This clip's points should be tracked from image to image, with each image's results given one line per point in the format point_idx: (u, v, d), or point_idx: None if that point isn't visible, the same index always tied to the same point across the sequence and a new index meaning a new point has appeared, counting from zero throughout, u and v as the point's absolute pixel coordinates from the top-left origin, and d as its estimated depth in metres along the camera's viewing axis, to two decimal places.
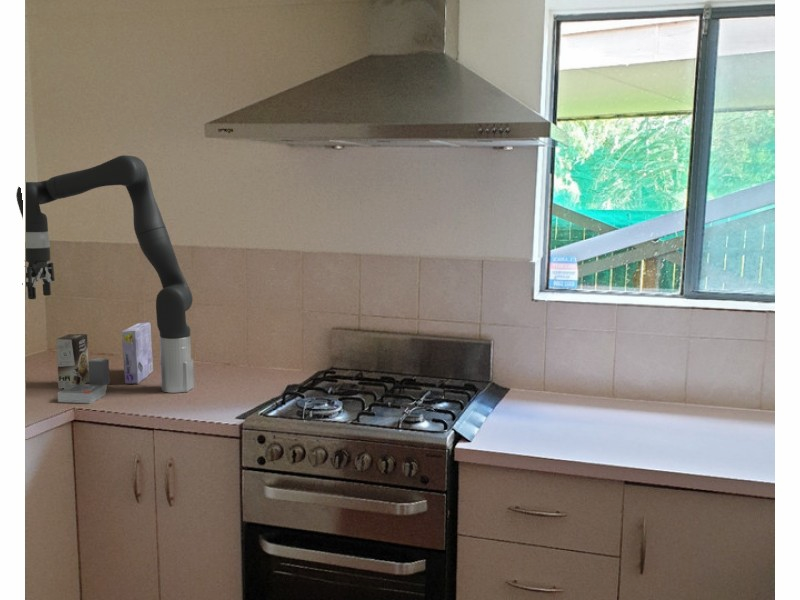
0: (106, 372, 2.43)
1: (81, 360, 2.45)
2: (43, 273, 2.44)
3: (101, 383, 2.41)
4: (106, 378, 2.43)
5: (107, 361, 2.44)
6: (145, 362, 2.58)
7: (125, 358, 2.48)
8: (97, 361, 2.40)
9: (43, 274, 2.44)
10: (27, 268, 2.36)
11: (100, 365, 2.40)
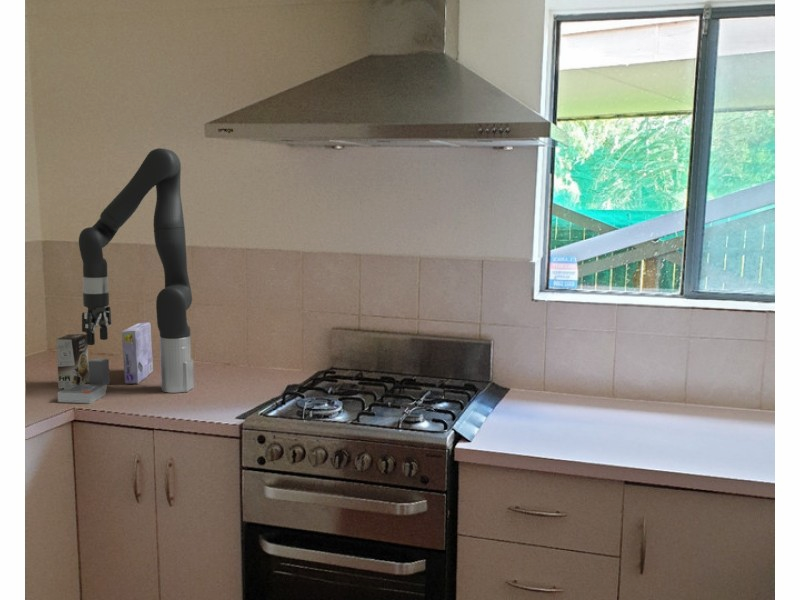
0: (106, 372, 2.43)
1: (81, 360, 2.45)
2: (101, 318, 2.41)
3: (101, 383, 2.41)
4: (106, 378, 2.43)
5: (107, 361, 2.44)
6: (146, 362, 2.58)
7: (125, 358, 2.48)
8: (97, 361, 2.40)
9: (101, 319, 2.41)
10: (87, 314, 2.33)
11: (100, 365, 2.40)
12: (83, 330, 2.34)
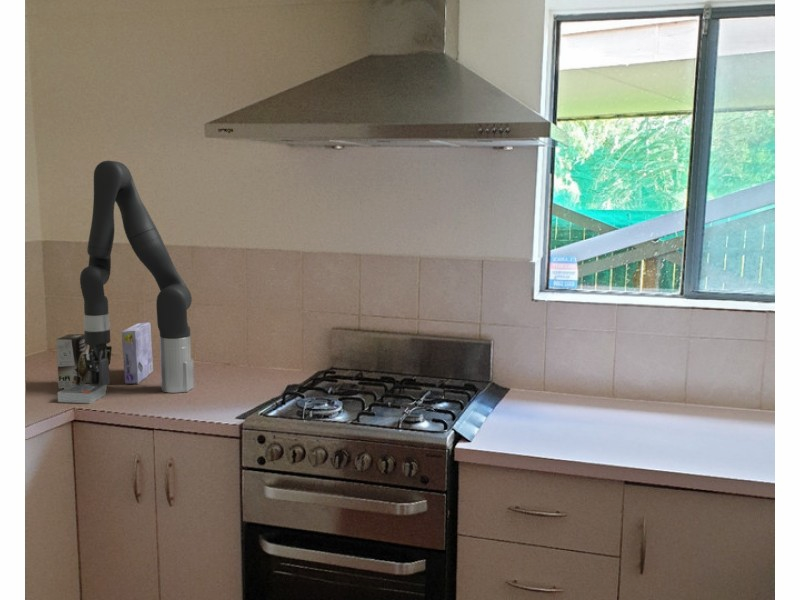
0: (106, 372, 2.43)
1: (81, 360, 2.45)
2: (102, 354, 2.42)
3: (101, 383, 2.41)
4: (106, 378, 2.43)
5: (107, 361, 2.44)
6: (145, 362, 2.58)
7: (125, 358, 2.48)
8: (97, 361, 2.40)
9: (102, 355, 2.42)
10: (89, 356, 2.35)
11: (100, 365, 2.40)
12: (88, 369, 2.37)
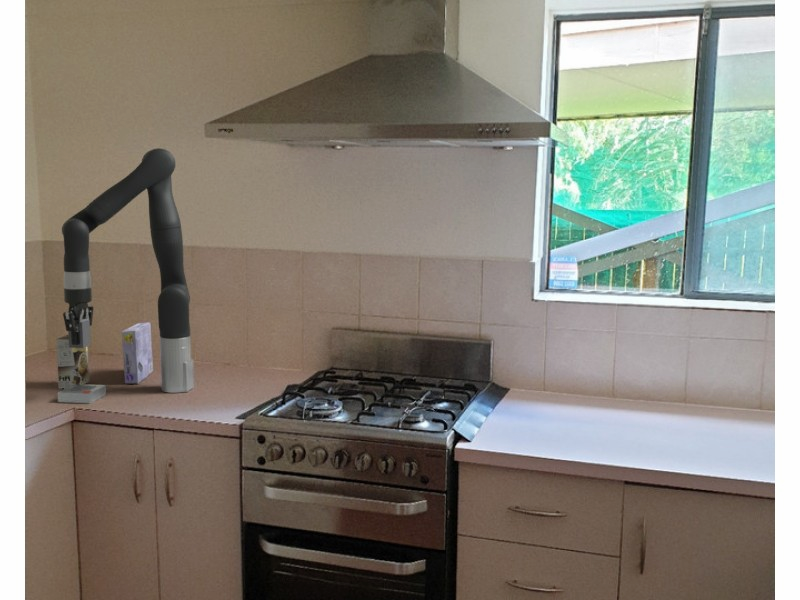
0: (87, 333, 2.30)
1: (81, 360, 2.45)
2: (83, 314, 2.30)
3: (81, 344, 2.28)
4: (87, 340, 2.31)
5: (88, 321, 2.31)
6: (145, 362, 2.58)
7: (125, 358, 2.48)
8: None
9: (83, 315, 2.30)
10: (69, 315, 2.22)
11: (80, 325, 2.27)
12: (67, 329, 2.25)
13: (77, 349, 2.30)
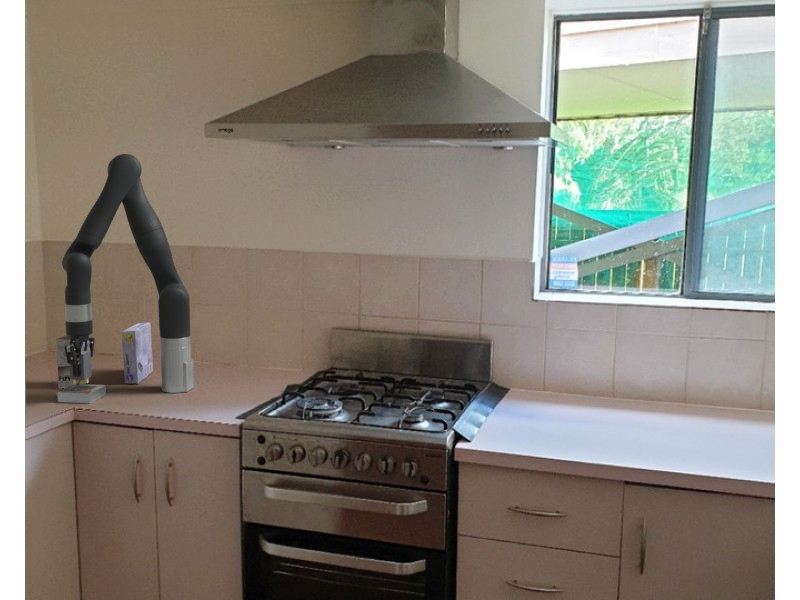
0: (88, 365, 2.32)
1: None
2: (84, 346, 2.31)
3: (82, 376, 2.30)
4: (88, 371, 2.32)
5: (89, 353, 2.32)
6: (145, 362, 2.58)
7: (125, 358, 2.48)
8: (78, 353, 2.29)
9: (84, 347, 2.31)
10: (70, 348, 2.24)
11: (81, 357, 2.29)
12: (68, 362, 2.26)
13: (78, 381, 2.32)
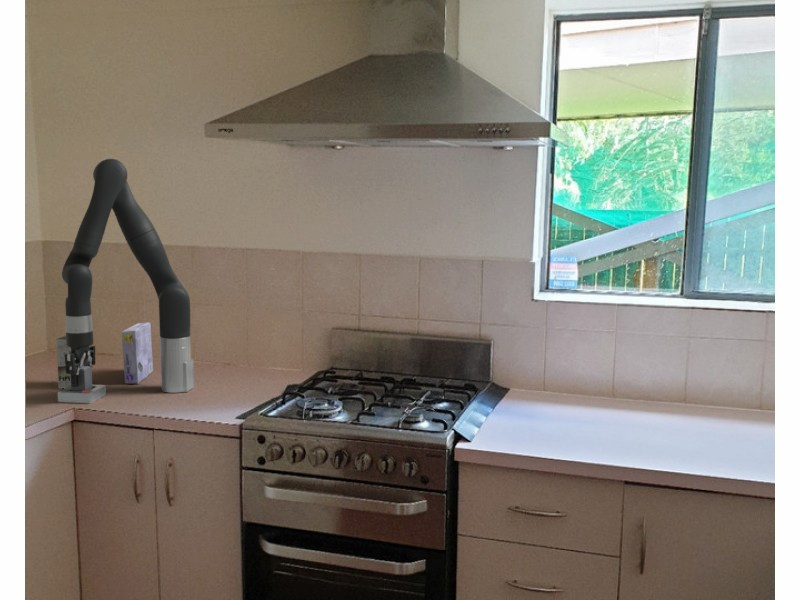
0: (89, 381, 2.32)
1: None
2: (85, 357, 2.32)
3: None
4: (89, 387, 2.33)
5: (90, 369, 2.33)
6: (145, 362, 2.58)
7: (125, 358, 2.48)
8: None
9: (85, 358, 2.32)
10: (70, 356, 2.24)
11: (82, 373, 2.29)
12: (67, 372, 2.25)
13: None
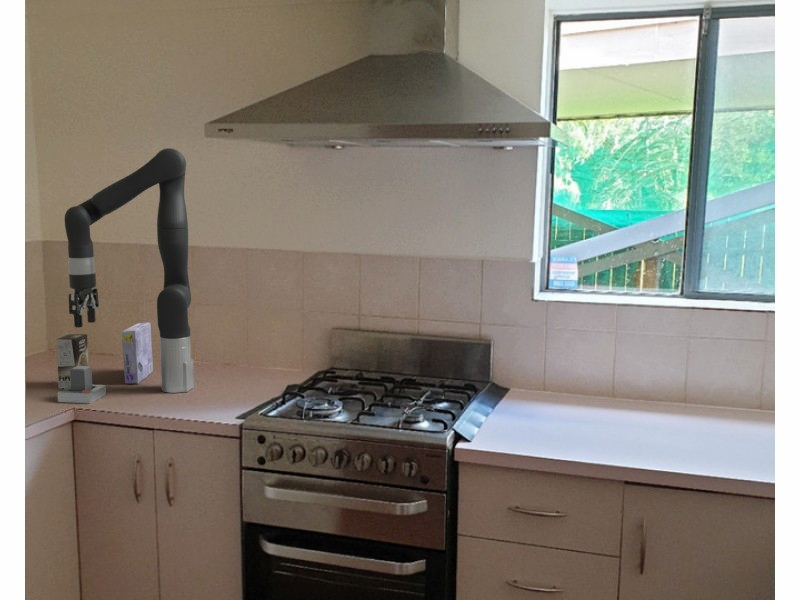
0: (89, 381, 2.32)
1: (81, 360, 2.45)
2: (89, 300, 2.35)
3: None
4: (89, 387, 2.33)
5: (90, 369, 2.33)
6: (145, 362, 2.58)
7: (125, 358, 2.48)
8: (79, 369, 2.30)
9: (89, 301, 2.35)
10: (74, 295, 2.27)
11: (82, 373, 2.29)
12: (70, 312, 2.28)
13: None
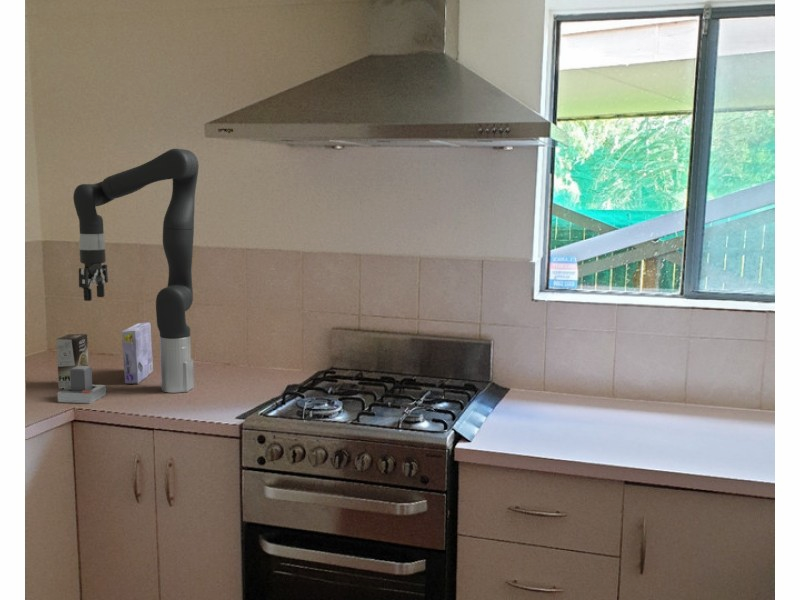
0: (89, 381, 2.32)
1: (81, 360, 2.45)
2: (98, 275, 2.45)
3: None
4: (89, 387, 2.33)
5: (90, 369, 2.33)
6: (146, 362, 2.58)
7: (125, 358, 2.48)
8: (79, 369, 2.30)
9: (98, 276, 2.45)
10: (84, 270, 2.37)
11: (82, 373, 2.29)
12: (80, 285, 2.37)
13: None
